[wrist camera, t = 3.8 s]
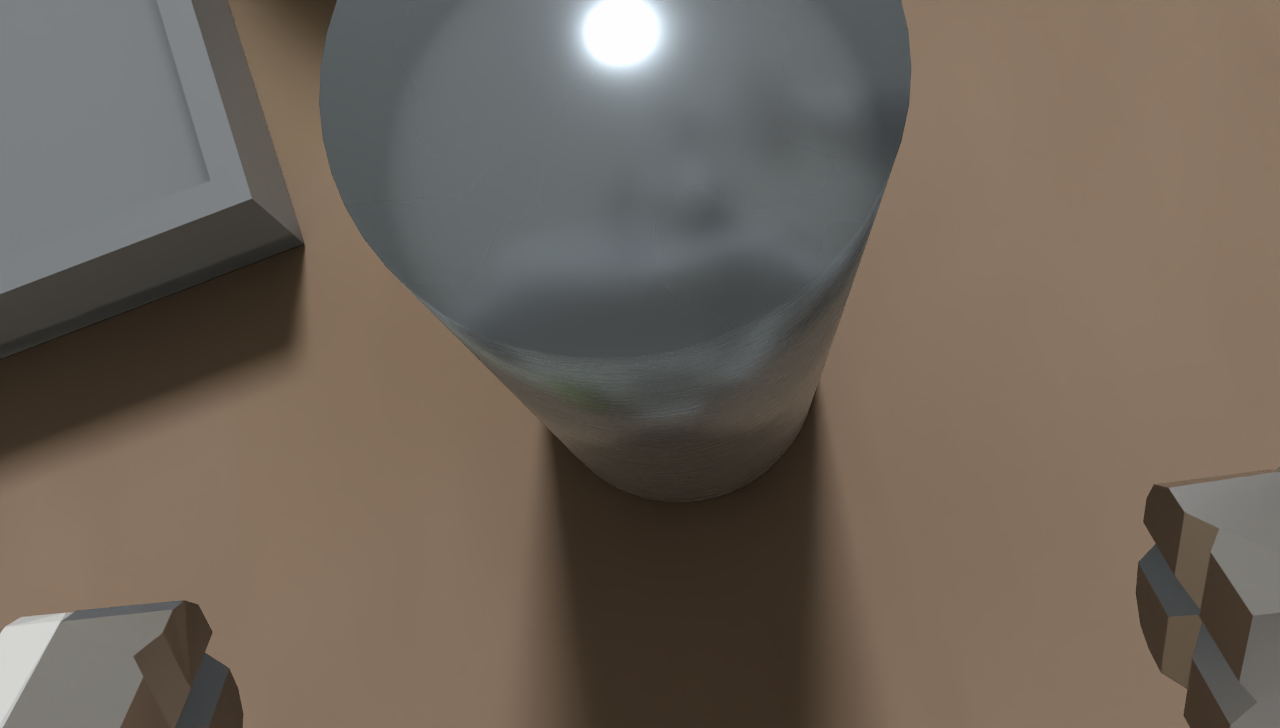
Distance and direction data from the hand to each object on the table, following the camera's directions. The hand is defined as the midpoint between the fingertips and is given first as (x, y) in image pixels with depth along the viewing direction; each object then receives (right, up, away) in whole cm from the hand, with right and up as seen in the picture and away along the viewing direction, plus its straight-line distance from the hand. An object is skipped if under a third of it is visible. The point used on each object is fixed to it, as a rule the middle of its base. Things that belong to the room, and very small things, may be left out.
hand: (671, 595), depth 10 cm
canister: (0, +2, +11) cm, 12 cm away
